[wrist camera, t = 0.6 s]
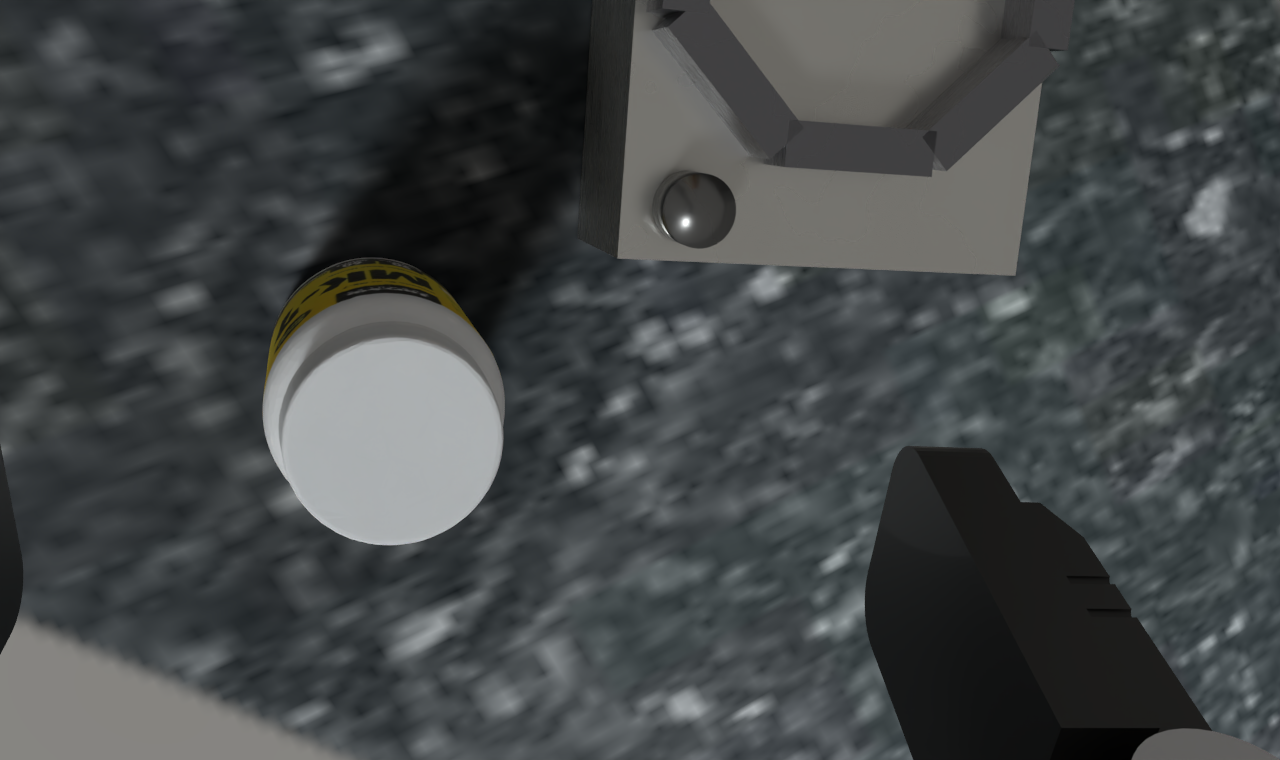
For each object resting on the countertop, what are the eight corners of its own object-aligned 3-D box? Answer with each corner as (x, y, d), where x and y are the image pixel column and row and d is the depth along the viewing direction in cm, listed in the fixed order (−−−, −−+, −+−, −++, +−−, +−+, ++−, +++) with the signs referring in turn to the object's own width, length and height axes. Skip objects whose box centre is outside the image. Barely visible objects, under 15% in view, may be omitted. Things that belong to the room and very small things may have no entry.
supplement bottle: (427, 226, 30) (476, 273, 22) (495, 400, 31) (564, 505, 23) (235, 297, 29) (214, 374, 21) (313, 473, 30) (321, 608, 22)
